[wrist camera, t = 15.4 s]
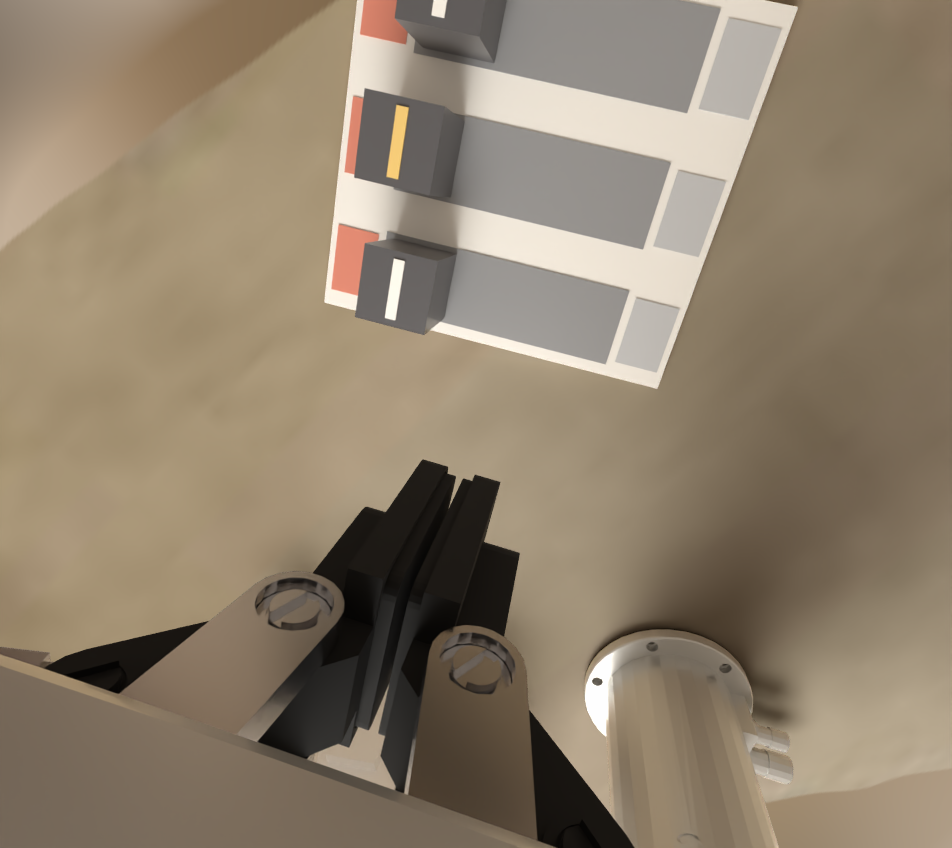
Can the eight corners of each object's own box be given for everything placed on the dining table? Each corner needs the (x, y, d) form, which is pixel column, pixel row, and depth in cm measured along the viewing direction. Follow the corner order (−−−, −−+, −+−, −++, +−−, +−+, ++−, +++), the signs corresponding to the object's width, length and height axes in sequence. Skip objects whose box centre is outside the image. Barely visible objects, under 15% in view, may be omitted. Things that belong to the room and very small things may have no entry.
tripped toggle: (464, 121, 31) (444, 105, 26) (450, 197, 32) (428, 195, 28) (396, 106, 31) (363, 87, 26) (385, 181, 33) (353, 177, 28)
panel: (789, 15, 28) (847, -39, 22) (654, 383, 36) (670, 418, 30) (374, -71, 29) (322, -142, 23) (331, 299, 37) (285, 317, 31)
